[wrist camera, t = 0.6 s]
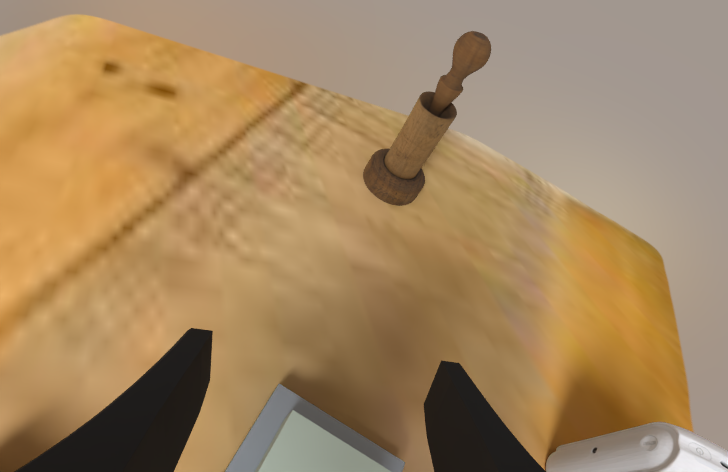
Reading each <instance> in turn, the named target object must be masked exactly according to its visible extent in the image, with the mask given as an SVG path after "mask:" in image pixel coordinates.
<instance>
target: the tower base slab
mask: <svg viewBox="0 0 728 472" xmlns="http://www.w3.org/2000/svg"><path fill="white" fill-rule="evenodd" d="M292 410H294V411H295V412H297V413H299V414H300V415H302V416H303V417H305V418H307V419H308V420H310V421H311V422H313V423H315V424H316V425H318V426H319V427H321V428H323V429H324V430H326V431H327V432H329V433H331V434H332V435H334V436H335V437H337V438H338V439H340V440H342V441H343V442H345V443H346V444H348V445H350V446H351V447H353V448H354V449H356V450H358V451H359V452H361V453H362V454H364V455H366V456H367V457H369V458H370V459H372V460H374V461H375V462H377V463H378V464H380V465H382V466H383V467H385V468H386V469H388V470H389V471H391V472H402V471H403V468H404V465H405V462H404V461H402V460H401V459H399V458H397V457H396V456H394V455H393V454H391V453H389V452H388V451H386V450H385V449H383V448H381V447H380V446H378V445H377V444H375V443H373V442H372V441H370V440H369V439H367V438H365V437H364V436H362V435H361V434H359V433H357V432H356V431H354V430H353V429H351V428H349V427H348V426H346V425H345V424H343V423H341V422H340V421H338V420H337V419H335V418H333V417H332V416H330V415H329V414H327V413H325V412H324V411H322V410H321V409H319V408H317V407H316V406H314V405H313V404H311V403H309V402H308V401H306V400H305V399H303V398H301V397H300V396H298V395H297V394H295V393H293V392H292V391H290V390H289V389H287V388H285V387H284V386H282V385H281V384H278V386H277V387H276V389H275V390H274V392H273V393H272V395H271V397H270V398H269V400H268V402H267V403H266V405H265V407H264V408H263V410H262V411H261V413H260V415H259V416H258V418H257V420H256V421H255V423H254V425H253V426H252V428H251V429H250V431H249V433H248V434H247V436H246V438H245V439H244V441H243V442H242V444H241V446H240V447H239V449H238V451H237V452H236V454H235V456H234V457H233V459H232V460H231V462H230V464H229V465H228V467H227V469H226V470H225V472H255V470H256V468H257V466H258V465H259V463H260V461H261V459H262V458H263V456H264V454H265V452H266V451H267V449H268V447H269V445H270V443H271V442H272V440H273V438H274V436H275V435H276V433H277V431H278V429H279V428H280V426H281V424H282V422H283V420H284V419H285V418H286V417H287V416H288V415H289V413H290V412H291V411H292Z"/></svg>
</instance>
